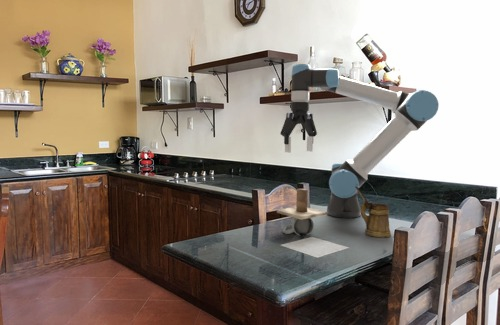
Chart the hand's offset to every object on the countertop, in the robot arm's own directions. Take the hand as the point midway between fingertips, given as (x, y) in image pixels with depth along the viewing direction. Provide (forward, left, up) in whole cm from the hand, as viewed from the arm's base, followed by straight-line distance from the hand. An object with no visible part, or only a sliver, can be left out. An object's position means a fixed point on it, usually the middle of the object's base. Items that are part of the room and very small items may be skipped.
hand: (298, 151), depth 171 cm
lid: (+18, +19, -21) cm, 33 cm away
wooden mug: (-3, +35, -29) cm, 45 cm away
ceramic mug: (+19, +18, -29) cm, 39 cm away
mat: (+27, +33, -29) cm, 51 cm away
